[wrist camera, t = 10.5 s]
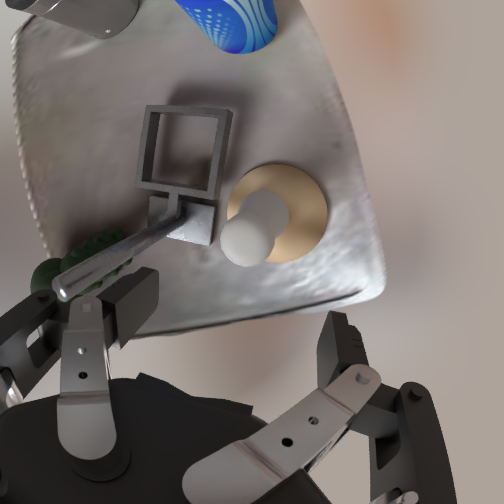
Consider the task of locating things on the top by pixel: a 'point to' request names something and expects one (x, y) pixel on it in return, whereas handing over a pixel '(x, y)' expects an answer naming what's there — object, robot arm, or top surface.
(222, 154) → the ring stand
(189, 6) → the beer can
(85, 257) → the toy figurine
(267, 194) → the salt shaker
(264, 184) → the disc
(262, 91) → the top surface
